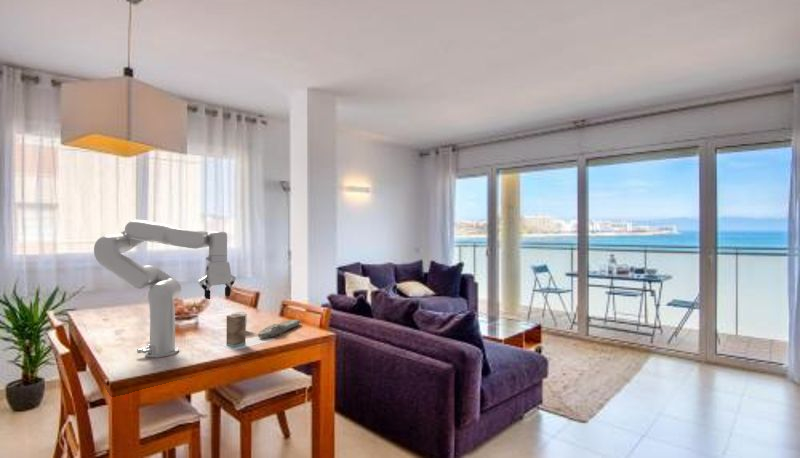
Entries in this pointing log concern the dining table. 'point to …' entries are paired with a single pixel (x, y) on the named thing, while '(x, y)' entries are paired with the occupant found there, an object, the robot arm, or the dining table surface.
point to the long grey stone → (278, 328)
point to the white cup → (242, 314)
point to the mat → (252, 342)
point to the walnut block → (236, 330)
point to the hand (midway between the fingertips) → (217, 297)
